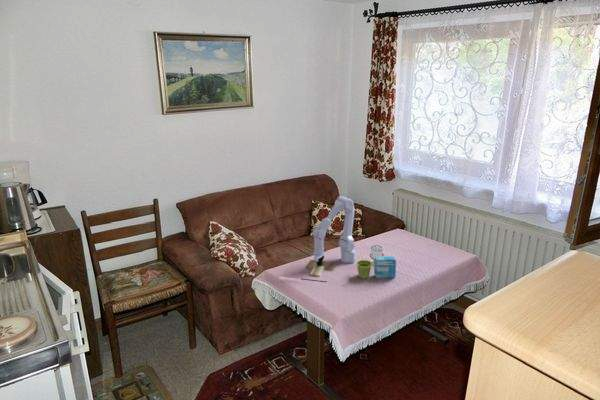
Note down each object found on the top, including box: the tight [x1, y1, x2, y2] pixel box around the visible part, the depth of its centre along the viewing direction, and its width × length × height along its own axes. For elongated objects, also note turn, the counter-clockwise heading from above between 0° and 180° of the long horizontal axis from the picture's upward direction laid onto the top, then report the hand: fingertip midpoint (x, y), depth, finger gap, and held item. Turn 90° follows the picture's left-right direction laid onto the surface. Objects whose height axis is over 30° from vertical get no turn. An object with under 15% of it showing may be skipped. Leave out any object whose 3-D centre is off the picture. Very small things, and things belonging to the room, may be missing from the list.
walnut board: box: [304, 259, 338, 272], centre depth 263 cm, size 18×13×2 cm
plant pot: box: [355, 259, 373, 279], centre depth 248 cm, size 9×9×9 cm
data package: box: [373, 256, 397, 279], centre depth 247 cm, size 12×4×12 cm, turn 89°
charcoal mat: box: [301, 278, 328, 283], centre depth 251 cm, size 16×12×1 cm
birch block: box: [309, 265, 325, 278], centre depth 253 cm, size 6×10×2 cm, turn 163°
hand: (319, 267), depth 258 cm, fingers closed
